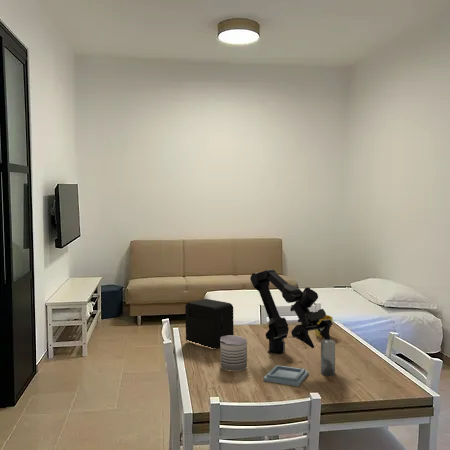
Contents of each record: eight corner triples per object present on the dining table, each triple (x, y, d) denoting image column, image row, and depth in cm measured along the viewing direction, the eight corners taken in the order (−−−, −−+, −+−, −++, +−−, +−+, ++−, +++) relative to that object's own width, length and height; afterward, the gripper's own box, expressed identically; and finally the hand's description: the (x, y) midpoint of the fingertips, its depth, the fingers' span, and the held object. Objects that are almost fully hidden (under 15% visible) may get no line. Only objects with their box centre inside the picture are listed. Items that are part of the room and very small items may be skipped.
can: (233, 360, 212) (233, 333, 211) (252, 366, 204) (252, 338, 203) (214, 366, 204) (214, 338, 203) (233, 373, 196) (233, 344, 195)
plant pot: (334, 338, 243) (334, 319, 243) (313, 338, 243) (313, 319, 243) (330, 332, 254) (330, 314, 253) (310, 332, 254) (310, 314, 253)
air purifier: (235, 343, 236) (235, 302, 235) (215, 350, 226) (215, 308, 224) (206, 336, 250) (205, 297, 249) (185, 342, 239) (185, 302, 238)
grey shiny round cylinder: (319, 374, 194) (319, 342, 193) (322, 370, 199) (322, 338, 198) (333, 376, 191) (333, 344, 191) (336, 372, 197) (336, 340, 196)
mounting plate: (263, 380, 188) (263, 375, 188) (275, 369, 200) (275, 363, 200) (298, 386, 182) (298, 380, 182) (308, 374, 194) (308, 368, 194)
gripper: (295, 305, 196) (314, 339, 187) (329, 300, 206) (348, 331, 197) (283, 321, 203) (301, 353, 194) (316, 315, 213) (334, 346, 204)
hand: (322, 345), depth 197 cm, fingers open, 9 cm apart
